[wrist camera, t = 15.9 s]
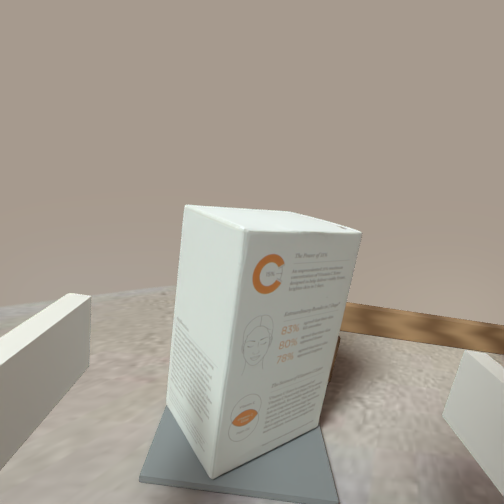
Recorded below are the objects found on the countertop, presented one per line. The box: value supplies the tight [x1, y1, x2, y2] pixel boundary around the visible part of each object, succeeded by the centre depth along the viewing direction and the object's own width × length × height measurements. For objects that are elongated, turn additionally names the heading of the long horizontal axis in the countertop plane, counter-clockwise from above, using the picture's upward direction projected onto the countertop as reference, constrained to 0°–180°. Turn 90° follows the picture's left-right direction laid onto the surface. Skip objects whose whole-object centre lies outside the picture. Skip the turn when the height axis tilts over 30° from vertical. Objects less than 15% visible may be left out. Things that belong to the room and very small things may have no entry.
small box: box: [166, 205, 362, 479], centre depth 19 cm, size 8×6×13 cm
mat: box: [139, 405, 339, 504], centre depth 21 cm, size 10×10×1 cm
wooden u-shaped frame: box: [328, 302, 504, 382], centre depth 31 cm, size 30×11×10 cm, turn 89°
